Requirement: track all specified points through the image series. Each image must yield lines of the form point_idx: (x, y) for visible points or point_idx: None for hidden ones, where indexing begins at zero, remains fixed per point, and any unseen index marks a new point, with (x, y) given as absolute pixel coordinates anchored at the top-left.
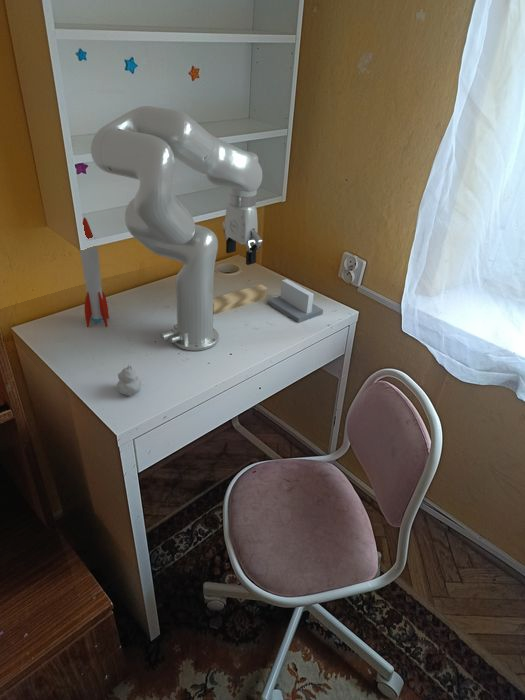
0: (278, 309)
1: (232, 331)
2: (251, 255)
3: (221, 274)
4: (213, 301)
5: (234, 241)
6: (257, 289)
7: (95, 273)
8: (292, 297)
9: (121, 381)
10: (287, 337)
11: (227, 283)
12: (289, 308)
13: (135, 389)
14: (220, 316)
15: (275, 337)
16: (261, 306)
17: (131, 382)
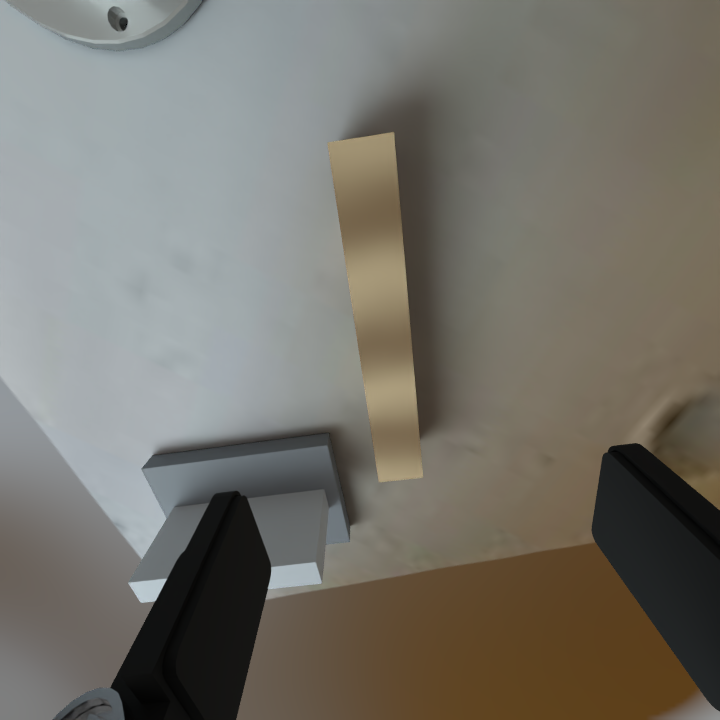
0: (264, 443)
1: (133, 164)
2: (135, 646)
3: (678, 388)
4: (351, 151)
5: (704, 667)
6: (382, 441)
7: None
8: None
9: None
10: (47, 370)
11: (584, 372)
12: (228, 477)
13: None
14: (299, 179)
15: (51, 327)
16: (320, 401)
17: None
